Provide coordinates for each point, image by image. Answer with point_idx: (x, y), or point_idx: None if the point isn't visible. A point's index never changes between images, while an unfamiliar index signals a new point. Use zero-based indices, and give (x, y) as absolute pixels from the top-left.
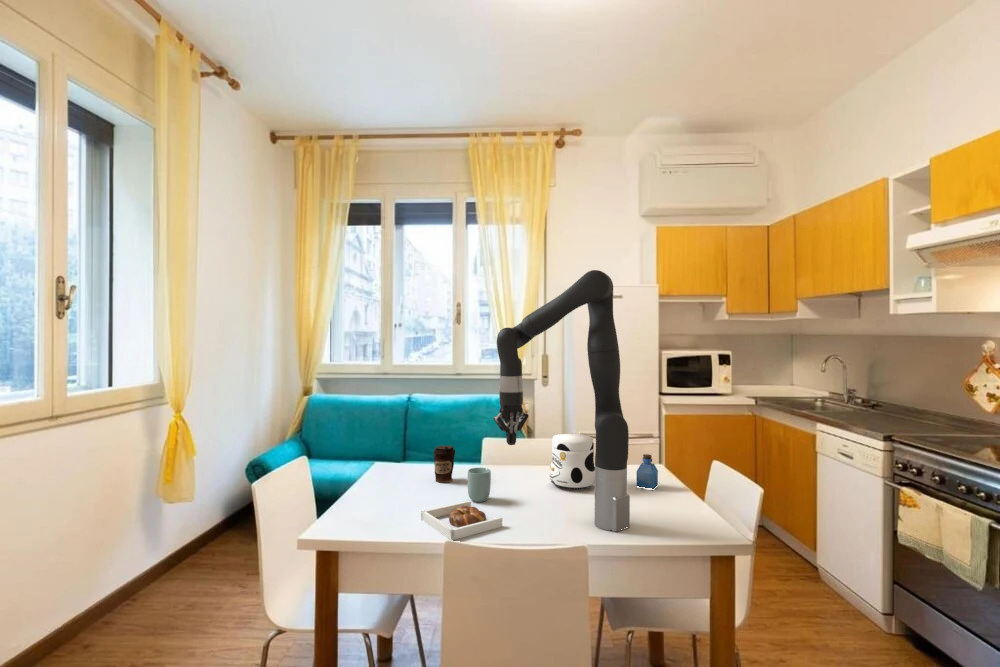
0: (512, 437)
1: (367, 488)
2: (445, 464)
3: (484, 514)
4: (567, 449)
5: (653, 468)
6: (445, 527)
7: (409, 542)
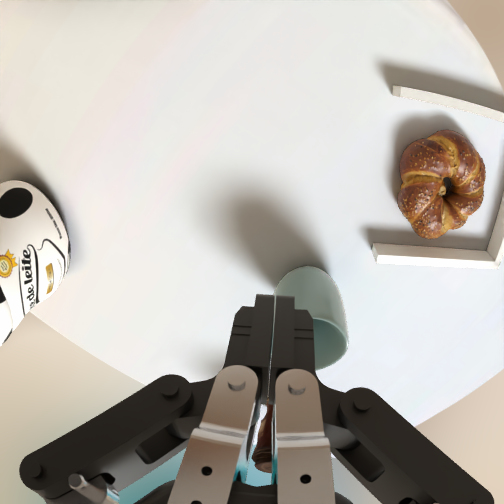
0: (283, 338)
1: (416, 418)
2: None
3: (419, 149)
4: None
5: None
6: None
7: None
